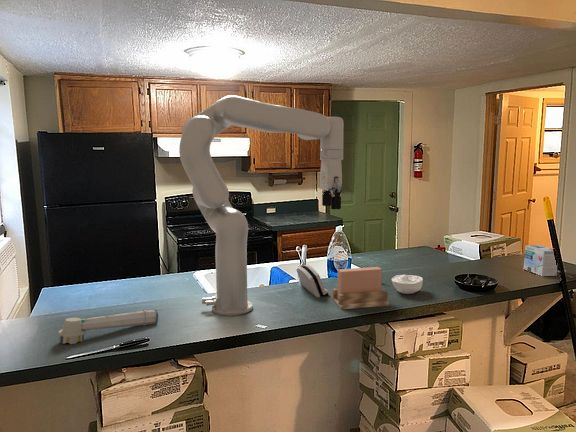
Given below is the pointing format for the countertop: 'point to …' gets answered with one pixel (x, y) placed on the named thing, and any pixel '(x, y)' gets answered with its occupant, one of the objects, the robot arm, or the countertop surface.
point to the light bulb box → (540, 260)
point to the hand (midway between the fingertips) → (331, 207)
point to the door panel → (359, 280)
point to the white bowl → (407, 283)
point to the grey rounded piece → (311, 280)
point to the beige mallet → (104, 324)
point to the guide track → (360, 299)
